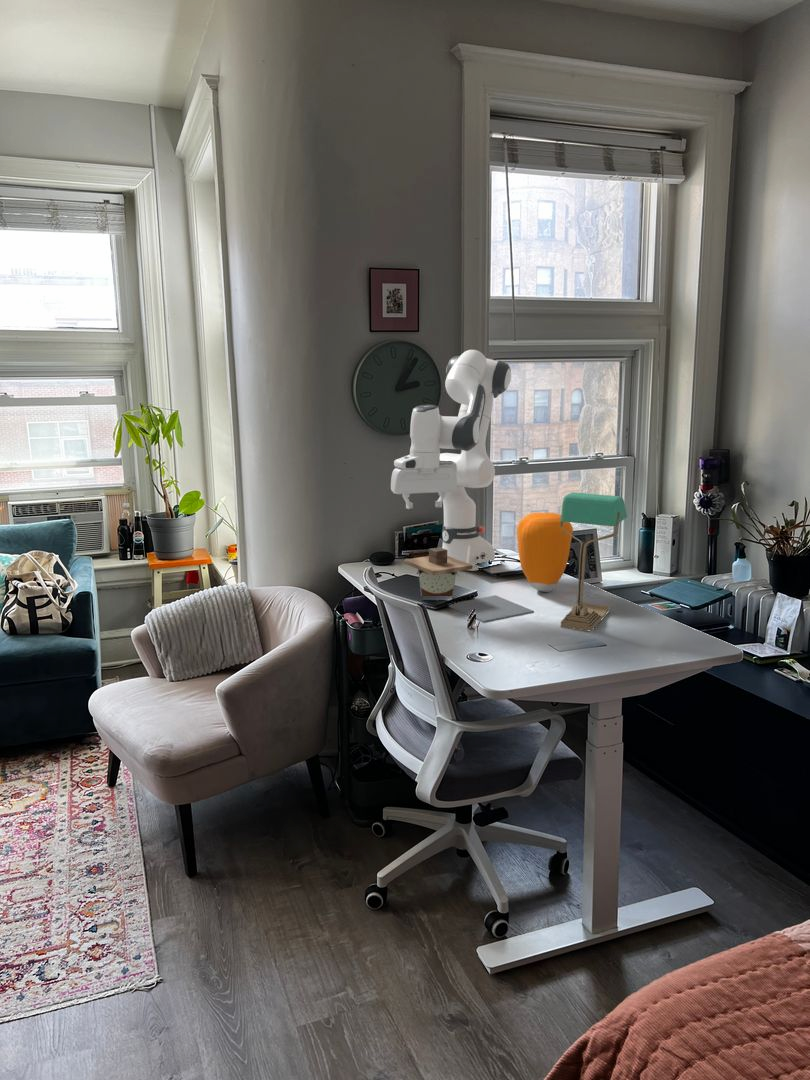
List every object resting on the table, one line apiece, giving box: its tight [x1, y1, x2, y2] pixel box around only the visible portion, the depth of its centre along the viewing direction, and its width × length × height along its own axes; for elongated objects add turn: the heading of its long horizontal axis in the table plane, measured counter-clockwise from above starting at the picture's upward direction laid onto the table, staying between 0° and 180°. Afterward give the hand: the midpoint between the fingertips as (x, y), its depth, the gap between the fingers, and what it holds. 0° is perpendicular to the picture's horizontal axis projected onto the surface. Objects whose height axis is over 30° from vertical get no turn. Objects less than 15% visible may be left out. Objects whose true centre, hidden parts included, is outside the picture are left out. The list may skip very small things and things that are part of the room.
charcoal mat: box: [448, 595, 535, 623], centre depth 237 cm, size 18×18×1 cm
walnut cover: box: [403, 546, 472, 575], centre depth 245 cm, size 14×16×5 cm
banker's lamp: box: [560, 492, 628, 632], centre depth 225 cm, size 16×21×35 cm
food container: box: [416, 569, 459, 597], centre depth 247 cm, size 12×6×10 cm, turn 84°
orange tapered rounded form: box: [516, 512, 574, 593], centre depth 252 cm, size 17×17×25 cm
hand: (424, 507), depth 241 cm, fingers open, 8 cm apart
